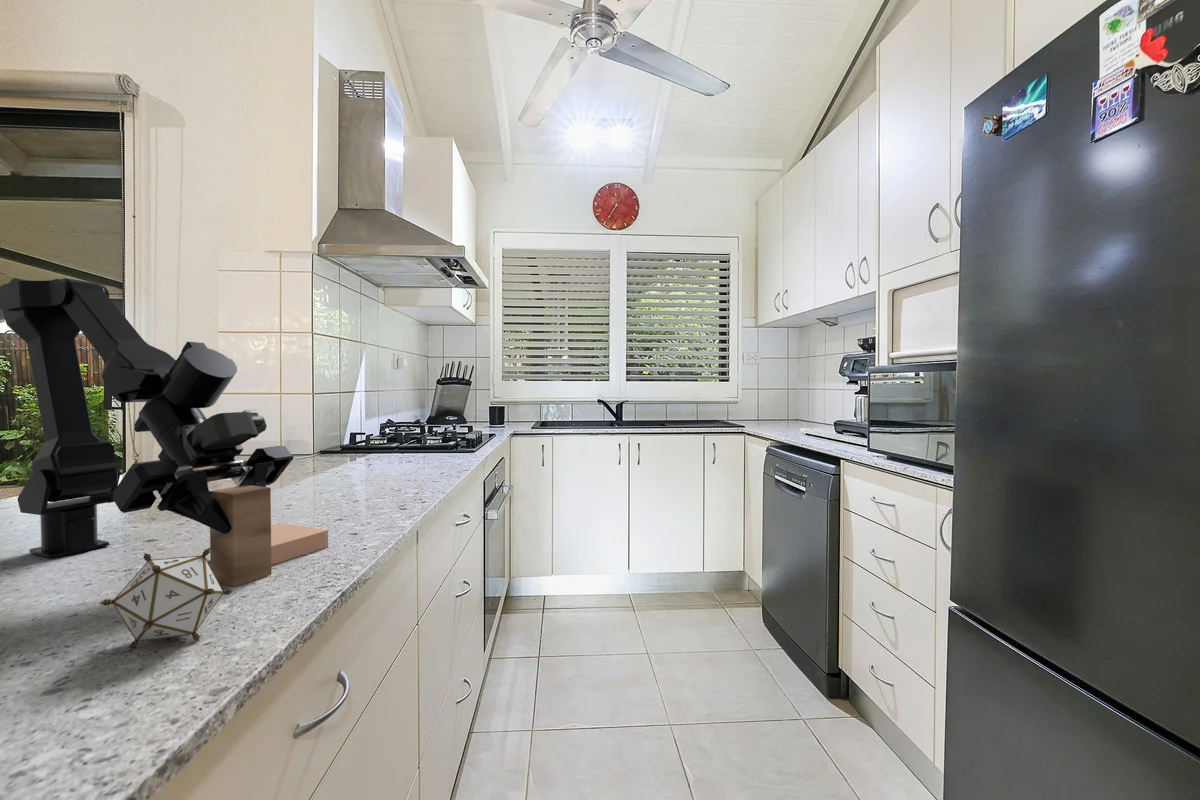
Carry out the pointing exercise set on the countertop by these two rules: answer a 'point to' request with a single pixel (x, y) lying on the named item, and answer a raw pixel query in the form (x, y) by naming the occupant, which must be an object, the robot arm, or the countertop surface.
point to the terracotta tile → (295, 541)
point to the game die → (168, 598)
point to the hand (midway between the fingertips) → (248, 525)
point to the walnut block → (242, 535)
